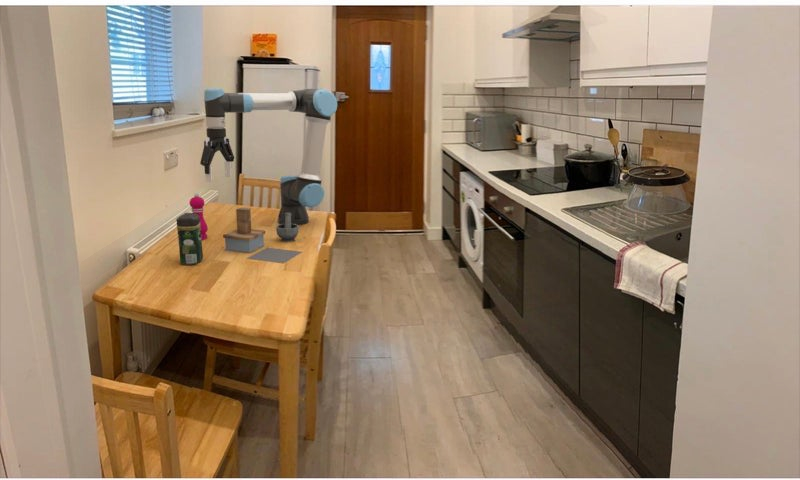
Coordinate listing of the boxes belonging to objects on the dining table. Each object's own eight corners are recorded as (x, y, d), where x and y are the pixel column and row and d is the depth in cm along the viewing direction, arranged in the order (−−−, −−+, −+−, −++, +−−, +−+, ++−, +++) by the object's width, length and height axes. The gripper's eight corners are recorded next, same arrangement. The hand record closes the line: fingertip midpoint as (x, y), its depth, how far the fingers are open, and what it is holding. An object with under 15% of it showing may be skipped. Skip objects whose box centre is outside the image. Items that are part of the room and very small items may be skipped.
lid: (239, 230, 229) (238, 204, 226) (265, 233, 225) (264, 207, 222) (223, 237, 218) (221, 210, 214) (249, 240, 214) (248, 213, 211)
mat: (267, 249, 225) (267, 247, 224) (302, 253, 220) (302, 251, 220) (246, 260, 210) (246, 258, 210) (283, 265, 206) (283, 263, 205)
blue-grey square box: (240, 244, 230) (240, 231, 228) (264, 247, 227) (263, 233, 225) (225, 251, 219) (224, 237, 218) (249, 254, 216) (249, 240, 215)
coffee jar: (183, 258, 210) (179, 211, 205) (204, 257, 212) (201, 211, 206) (177, 266, 201) (173, 217, 196) (200, 265, 202) (196, 217, 197)
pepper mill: (187, 239, 234) (183, 194, 229) (197, 235, 241) (194, 191, 236) (201, 241, 233) (198, 195, 227) (211, 237, 239) (208, 192, 234)
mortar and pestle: (298, 244, 232) (297, 217, 229) (276, 244, 231) (275, 217, 228) (299, 237, 243) (299, 211, 240) (278, 237, 242) (277, 211, 238)
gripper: (205, 130, 209) (208, 184, 215) (241, 126, 232) (243, 175, 238) (188, 129, 211) (192, 183, 217) (225, 125, 234) (228, 174, 240)
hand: (219, 179), depth 227 cm, fingers open, 13 cm apart
